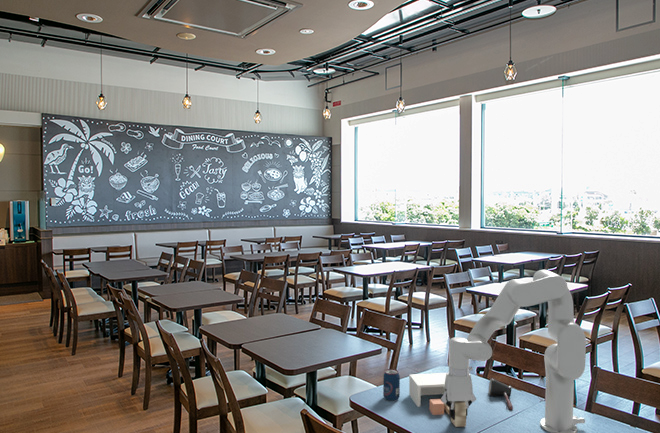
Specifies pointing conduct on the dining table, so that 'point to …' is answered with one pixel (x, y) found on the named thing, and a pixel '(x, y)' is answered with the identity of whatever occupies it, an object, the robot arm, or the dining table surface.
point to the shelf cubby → (425, 385)
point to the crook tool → (458, 413)
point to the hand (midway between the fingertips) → (458, 417)
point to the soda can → (391, 385)
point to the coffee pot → (500, 391)
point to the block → (436, 406)
